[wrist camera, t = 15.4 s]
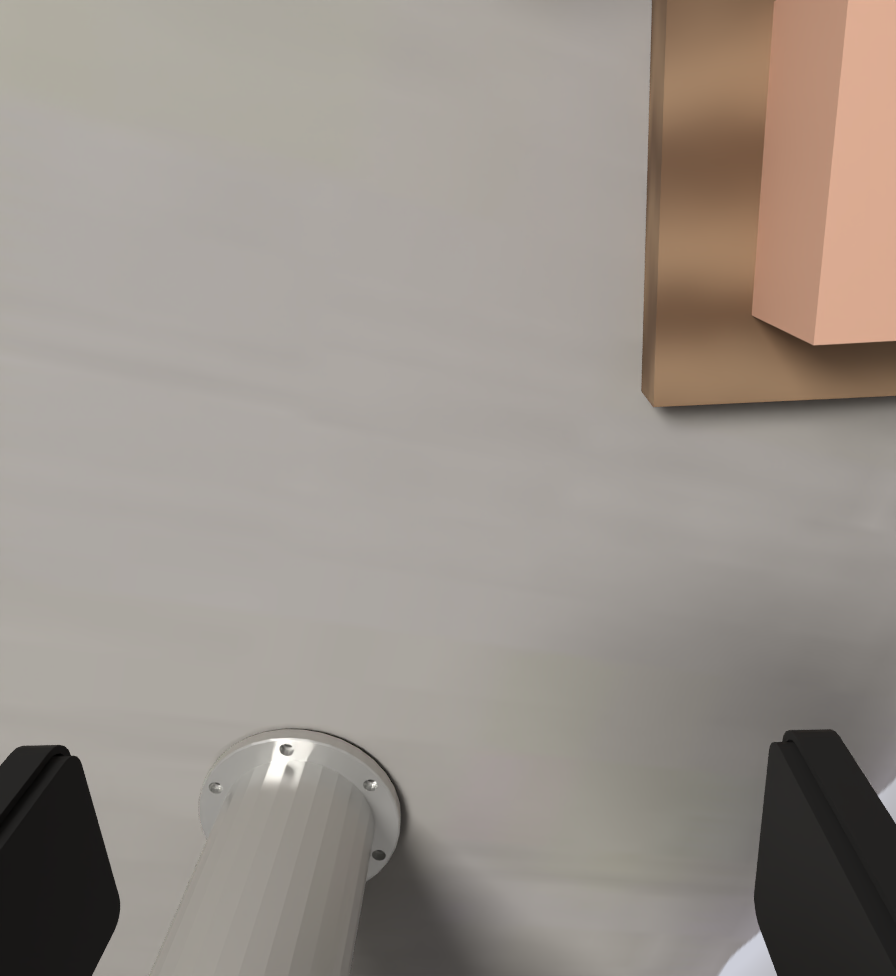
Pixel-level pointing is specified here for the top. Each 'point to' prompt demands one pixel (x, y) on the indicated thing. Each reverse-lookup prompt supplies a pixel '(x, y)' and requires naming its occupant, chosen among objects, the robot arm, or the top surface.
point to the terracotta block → (829, 173)
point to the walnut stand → (722, 225)
